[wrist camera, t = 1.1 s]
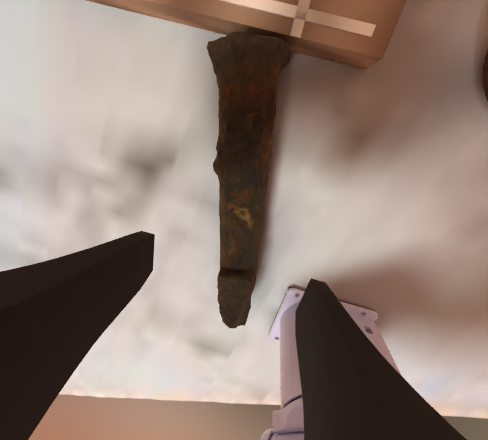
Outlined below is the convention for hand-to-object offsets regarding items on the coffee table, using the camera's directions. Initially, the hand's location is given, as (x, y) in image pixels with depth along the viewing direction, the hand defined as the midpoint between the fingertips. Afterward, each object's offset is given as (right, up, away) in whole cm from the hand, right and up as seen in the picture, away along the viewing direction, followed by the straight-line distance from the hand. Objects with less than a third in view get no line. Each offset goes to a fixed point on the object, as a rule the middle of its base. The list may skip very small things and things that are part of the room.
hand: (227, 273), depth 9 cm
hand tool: (+2, +4, +10) cm, 11 cm away
